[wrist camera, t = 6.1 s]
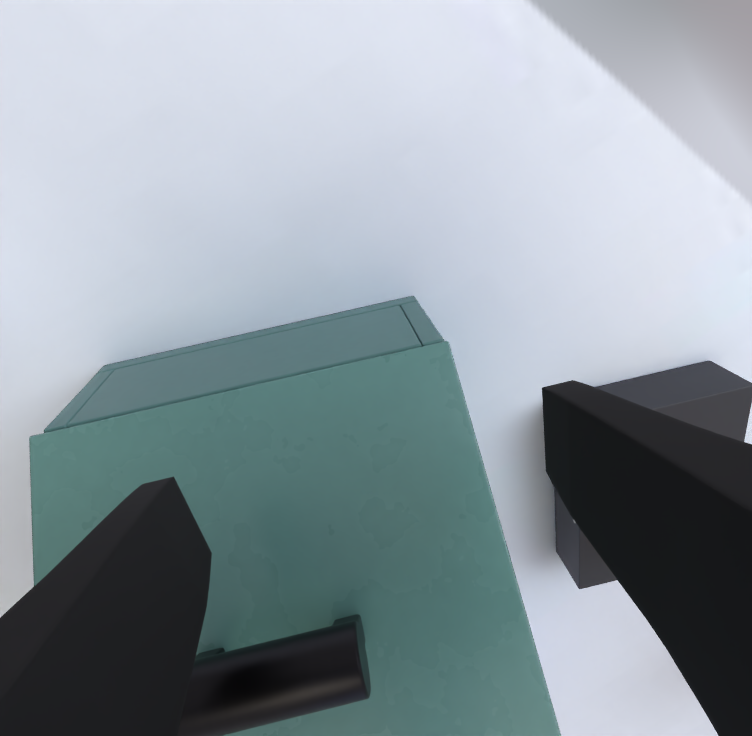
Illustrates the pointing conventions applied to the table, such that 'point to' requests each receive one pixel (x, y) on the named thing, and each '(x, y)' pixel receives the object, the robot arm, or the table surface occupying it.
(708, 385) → the thermostat box
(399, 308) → the teal hollow box
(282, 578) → the lid
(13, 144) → the table surface
